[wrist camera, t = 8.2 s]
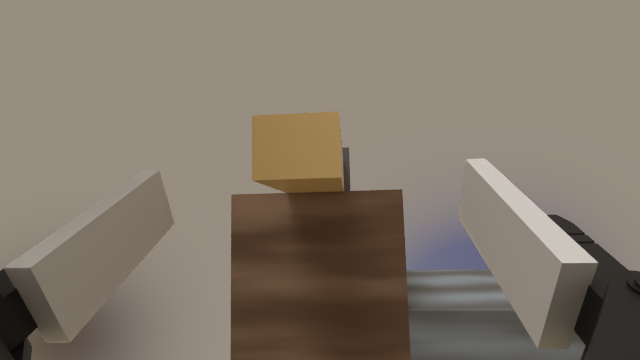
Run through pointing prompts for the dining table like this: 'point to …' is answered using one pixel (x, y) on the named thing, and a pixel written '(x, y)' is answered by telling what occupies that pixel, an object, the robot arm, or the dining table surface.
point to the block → (300, 152)
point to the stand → (358, 288)
